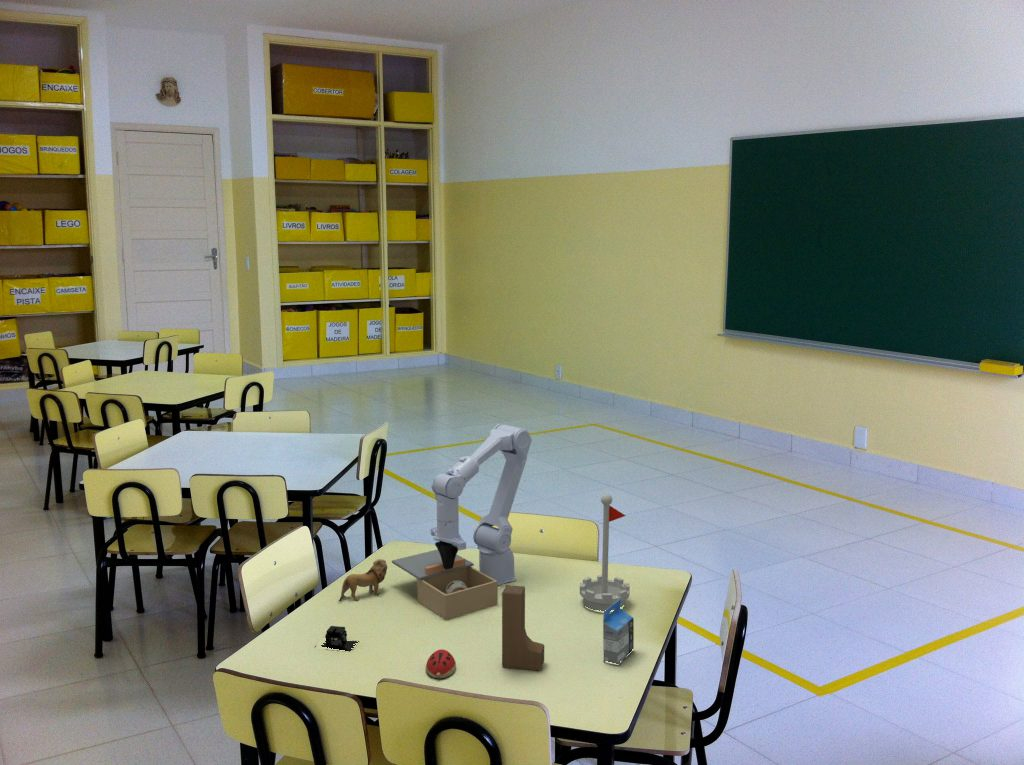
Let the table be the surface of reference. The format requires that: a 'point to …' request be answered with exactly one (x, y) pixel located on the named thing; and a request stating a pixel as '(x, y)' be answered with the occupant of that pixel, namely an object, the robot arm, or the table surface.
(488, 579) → the box
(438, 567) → the sliding lid
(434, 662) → the ladybug figurine
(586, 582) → the flag stand
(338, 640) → the black piece
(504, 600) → the wooden block
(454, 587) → the roller toy
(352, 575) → the lion figurine
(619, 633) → the label tape box
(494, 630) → the table surface
